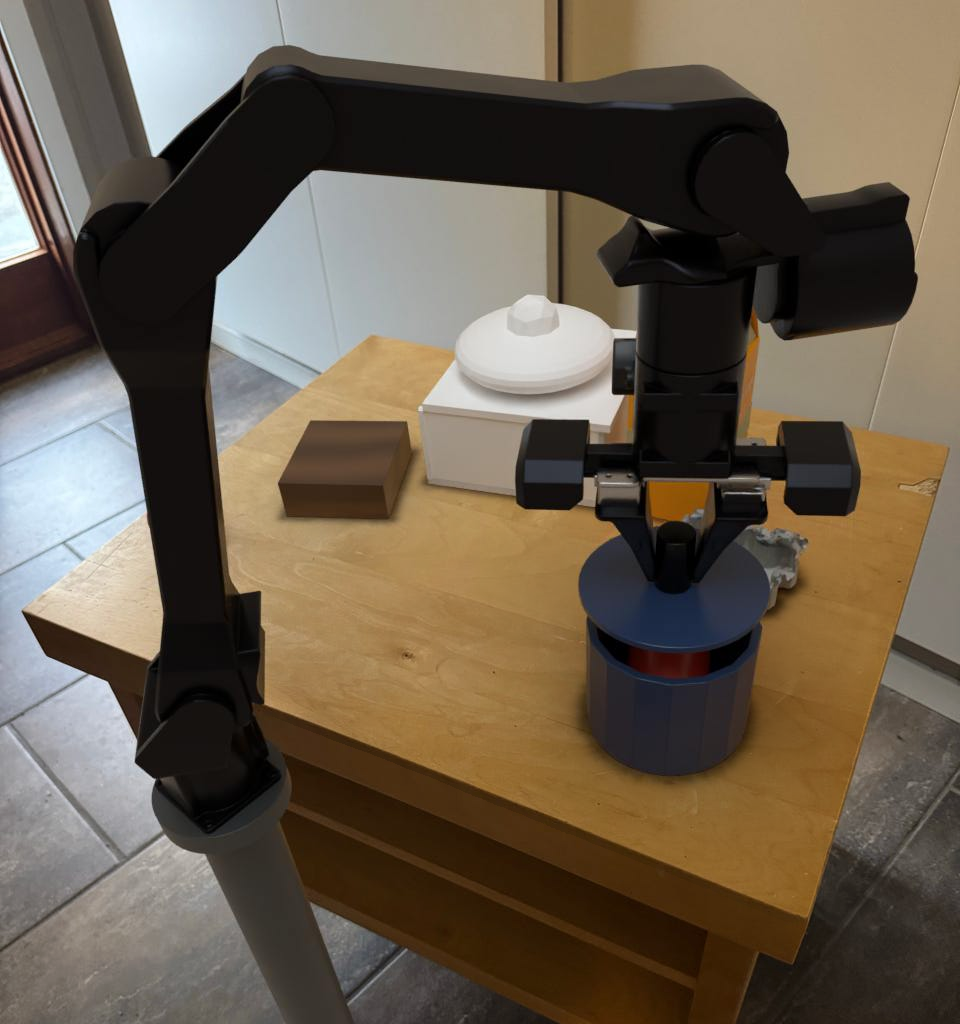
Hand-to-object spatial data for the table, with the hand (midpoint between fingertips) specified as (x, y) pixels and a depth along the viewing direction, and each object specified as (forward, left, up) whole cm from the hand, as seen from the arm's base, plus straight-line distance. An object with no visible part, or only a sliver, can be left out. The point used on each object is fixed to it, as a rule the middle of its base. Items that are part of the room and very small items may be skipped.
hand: (673, 578), depth 61 cm
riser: (+6, +41, -13) cm, 43 cm away
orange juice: (+23, +14, -13) cm, 30 cm away
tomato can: (-2, -2, -10) cm, 10 cm away
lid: (0, 0, -1) cm, 1 cm away
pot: (0, 0, -13) cm, 13 cm away
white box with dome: (+22, +30, -13) cm, 39 cm away
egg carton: (+16, +5, -13) cm, 21 cm away
